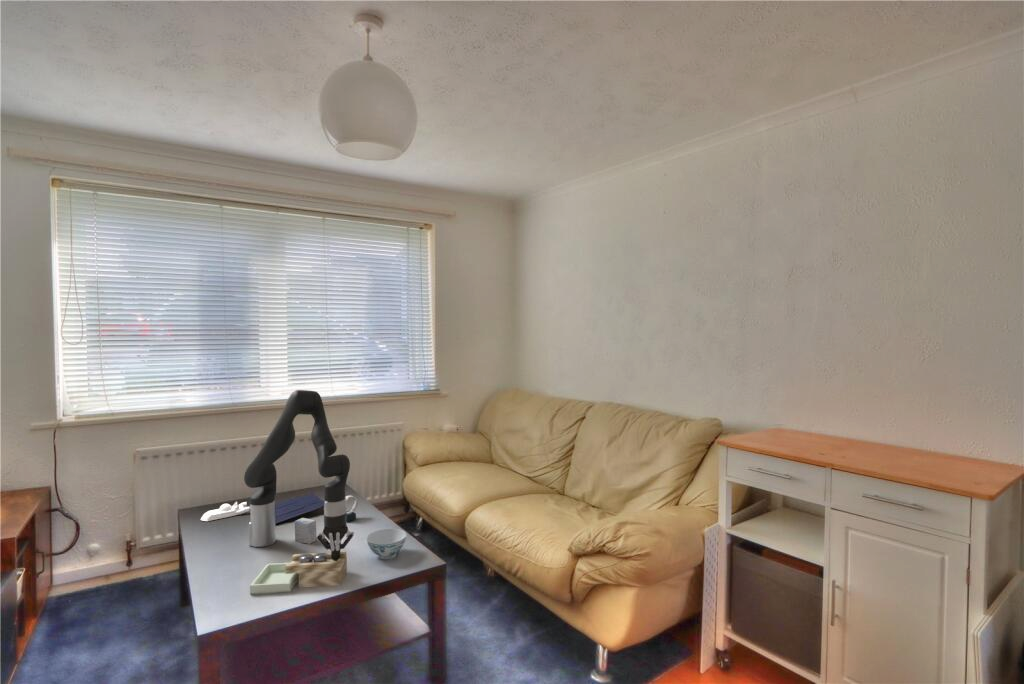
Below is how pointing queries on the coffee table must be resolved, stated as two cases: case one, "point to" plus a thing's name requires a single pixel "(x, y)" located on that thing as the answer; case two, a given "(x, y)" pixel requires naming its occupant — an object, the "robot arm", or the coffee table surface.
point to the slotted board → (319, 570)
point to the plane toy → (225, 511)
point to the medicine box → (305, 530)
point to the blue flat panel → (296, 507)
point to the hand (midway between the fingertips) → (336, 559)
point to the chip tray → (274, 580)
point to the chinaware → (386, 542)
